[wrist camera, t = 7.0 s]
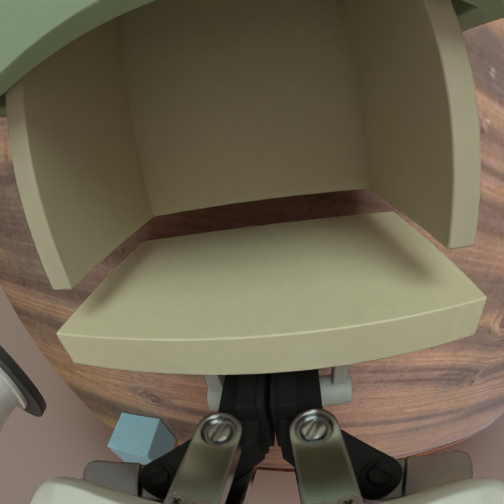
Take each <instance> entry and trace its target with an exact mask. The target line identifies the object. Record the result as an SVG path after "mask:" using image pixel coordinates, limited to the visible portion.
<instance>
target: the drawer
mask: <svg viewBox="0 0 504 504" xmlns="http://www.w3.org/2000/svg"><path fill="white" fill-rule="evenodd" d="M5 98H6V114H7V125H8V134H9V142H10V149H11V155H12V161H13V166H14V171H15V176H16V180H17V185H18V189H19V193H20V197H21V201H22V205H23V208H24V212H25V215H26V219H27V222H28V225H29V228H30V231H31V234H32V237H33V240H34V243H35V246H36V248H37V251H38V254H39V256H40V259H41V262H42V264H43V266H44V269H45V271H46V274H47V276H48V278H49V281H50V283H51V285H52V287H53V289H54V290H63V289H72V288H73V287H74V286H75V285H76V284H78V283H79V282H80V281H81V280H82V279H83V278H84V277H85V276H86V275H87V274H88V273H89V272H90V271H91V270H92V269H93V268H95V267H96V266H97V265H98V264H99V263H100V262H101V261H102V260H103V259H104V258H106V257H107V256H108V255H109V254H110V253H111V252H112V251H113V250H115V249H116V248H117V247H118V246H119V245H120V244H122V243H123V242H124V241H125V240H126V239H127V238H129V237H130V236H131V235H132V234H133V233H134V232H136V231H137V230H138V229H139V228H141V227H142V226H143V225H144V224H145V223H147V222H148V221H149V220H150V219H152V218H153V217H156V216H161V215H167V214H172V213H178V212H184V211H190V210H196V209H202V208H209V207H215V206H222V205H228V204H235V203H242V202H250V201H257V200H265V199H273V198H281V197H289V196H298V195H307V194H317V193H327V192H337V191H348V190H360V189H370V190H372V191H373V192H375V193H376V194H378V195H379V196H380V197H382V198H383V199H385V200H386V201H388V202H389V203H390V204H392V205H393V206H394V207H396V208H397V209H398V210H400V211H401V212H403V213H404V214H405V215H406V216H408V217H409V218H410V219H412V220H413V221H414V222H416V223H417V224H418V225H419V226H421V227H422V228H423V229H424V230H426V231H427V232H428V233H429V234H431V235H432V236H433V237H434V238H435V239H437V240H438V241H439V242H440V243H441V244H443V245H444V246H445V247H446V248H447V249H457V248H463V247H470V246H473V245H474V244H475V237H476V230H477V221H478V212H479V199H480V179H481V150H480V130H479V118H478V109H477V101H476V94H475V87H474V81H473V76H472V71H471V66H470V62H469V57H468V53H467V49H466V45H465V42H464V38H463V35H462V31H461V28H460V25H459V22H458V19H457V16H456V13H455V10H454V8H453V5H452V2H451V0H156V1H153V2H150V3H148V4H145V5H143V6H140V7H138V8H135V9H133V10H131V11H128V12H126V13H124V14H122V15H120V16H118V17H115V18H113V19H111V20H109V21H107V22H105V23H103V24H101V25H99V26H98V27H96V28H94V29H92V30H90V31H88V32H87V33H85V34H83V35H81V36H80V37H78V38H76V39H75V40H73V41H72V42H70V43H68V44H67V45H65V46H64V47H62V48H61V49H59V50H58V51H56V52H55V53H53V54H52V55H50V56H49V57H48V58H46V59H45V60H43V61H42V62H41V63H39V64H38V65H37V66H35V67H34V68H33V69H32V70H30V71H29V72H28V73H27V74H25V75H24V76H23V77H22V78H20V79H19V80H18V81H17V82H16V83H15V84H13V85H12V86H11V87H10V88H9V89H8V90H7V91H6V92H5ZM485 302H486V296H485V295H484V294H483V293H482V292H481V291H480V290H479V289H478V288H477V286H476V285H475V284H474V283H473V282H472V281H471V280H470V279H469V278H468V277H467V276H466V275H465V274H464V273H463V272H462V271H461V270H460V269H459V268H458V267H457V266H456V265H455V264H453V263H452V262H451V261H450V260H449V259H448V258H447V257H446V256H445V255H444V254H443V253H442V252H441V251H440V250H438V249H437V248H436V247H435V246H434V245H433V244H432V243H431V242H429V241H428V240H427V239H426V238H425V237H424V236H423V235H421V234H420V233H419V232H418V231H417V230H415V229H414V228H413V227H412V226H411V225H409V224H408V223H407V222H406V221H405V220H403V219H402V218H401V217H400V216H398V215H397V214H396V213H395V212H393V211H391V212H380V213H370V214H359V215H349V216H339V217H330V218H320V219H311V220H302V221H293V222H285V223H276V224H268V225H259V226H251V227H243V228H236V229H228V230H220V231H213V232H206V233H198V234H191V235H184V236H177V237H170V238H163V239H156V240H150V241H143V242H142V243H141V244H140V245H139V246H138V247H137V248H136V249H135V250H134V251H133V252H132V253H131V254H130V255H128V256H127V257H126V258H125V259H124V260H123V261H122V262H121V263H120V264H119V265H118V266H117V267H116V268H115V269H114V271H113V272H112V273H111V274H110V275H109V276H108V277H107V278H106V279H105V280H104V281H103V282H102V283H101V284H100V285H99V286H98V287H97V288H96V289H95V290H94V291H93V292H92V294H91V295H90V296H89V297H88V298H87V299H86V300H85V301H84V302H83V303H82V304H81V306H80V307H79V308H78V309H77V310H76V311H75V312H74V313H73V315H72V316H71V317H70V318H69V319H68V320H67V321H66V323H65V324H64V325H63V326H62V327H61V328H60V330H59V331H58V332H57V336H58V338H59V339H60V341H61V343H62V344H63V346H64V347H65V349H66V351H67V352H68V354H69V355H70V357H71V358H72V360H73V361H74V362H75V363H78V364H84V365H90V366H97V367H104V368H112V369H120V370H129V371H140V372H152V373H167V374H192V375H204V377H205V380H206V382H207V384H208V390H207V402H208V406H209V409H210V410H211V411H218V410H219V405H220V400H221V395H222V389H223V384H224V379H225V378H224V375H239V374H263V373H279V372H292V371H302V370H312V369H321V368H329V367H332V373H331V374H330V375H322V376H319V380H320V389H321V398H322V407H324V406H332V405H339V404H346V403H350V402H351V401H352V381H351V377H350V374H349V365H350V364H356V363H362V362H367V361H373V360H378V359H383V358H388V357H393V356H398V355H402V354H407V353H411V352H415V351H419V350H423V349H427V348H431V347H435V346H438V345H442V344H445V343H449V342H452V341H455V340H459V339H462V338H465V337H468V336H471V335H474V334H475V331H476V328H477V326H478V323H479V320H480V317H481V314H482V311H483V308H484V305H485Z"/></svg>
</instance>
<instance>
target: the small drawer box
mask: <svg viewBox="0 0 504 504" xmlns="http://www.w3.org/2000/svg"><path fill="white" fill-rule="evenodd" d="M153 1H156V0H0V118H2V117H7V114H6V98H5V92H6V91H7V90H8V89H9V88H10V87H11V86H12V85H13V84H15V83H16V82H17V81H18V80H19V79H20V78H22V77H23V76H24V75H25V74H27V73H28V72H29V71H30V70H32V69H33V68H34V67H35V66H37V65H38V64H39V63H41V62H42V61H43V60H45V59H46V58H48V57H49V56H50V55H52V54H53V53H55V52H56V51H58V50H59V49H61V48H62V47H64V46H65V45H67V44H68V43H70V42H72V41H73V40H75V39H76V38H78V37H80V36H81V35H83V34H85V33H87V32H88V31H90V30H92V29H94V28H96V27H98V26H99V25H101V24H103V23H105V22H107V21H109V20H111V19H113V18H115V17H118V16H120V15H122V14H124V13H126V12H128V11H131V10H133V9H135V8H138V7H140V6H143V5H145V4H148V3H150V2H153ZM451 2H452V5H453V8H454V10H455V13H456V16H457V19H458V22H459V25H460V28H461V31H465V30H467V29H470V28H473V27H476V26H479V25H482V24H485V23H488V22H491V21H494V20H498V19H500V18H504V0H451Z"/></svg>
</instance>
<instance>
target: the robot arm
mask: <svg viewBox="0 0 504 504" xmlns="http://www.w3.org/2000/svg"><path fill="white" fill-rule="evenodd" d="M27 405H28V402H27V400H26V398H25V396H24V394H23V393H22V392H21V390H20V389H19V388H18V386H17V385H16V384H15V383H14V381H13V380H12V379H11V378H10V377H9V376H8V374H7V373H6V372H5V371H4V370H3V369H2V368H1V367H0V430H1V429H2V427H3V425H4V424H5V422H6V420H7V419H8V417H9V416H10V414H11V412H12V411H13V409H14V408H15V406H18V407H20V408H22V409H25V408H26V407H27ZM275 433H276V438H277V442H278V446H281V450H282V455H283V458H284V459H285V460H286V461H287V462H289V463H290V464H291V465H293V466H294V469H295V474H296V480H297V485H298V491H299V496H300V502H301V504H504V484H503V483H502V482H501V481H500V480H498V479H495V478H491V477H477V478H473V472H472V461H471V457H470V456H469V454H468V453H467V452H464V451H462V450H455V451H450V452H443V453H437V454H429V455H421V456H410V457H407V458H406V459H394V458H393V457H391V456H389V455H387V454H385V453H383V452H381V451H379V450H377V449H375V448H373V447H371V446H369V445H368V444H366V443H364V442H362V441H360V440H359V439H357V438H355V437H353V436H352V435H350V434H348V433H346V432H345V431H343V430H341V429H340V427H339V424H338V421H337V419H336V417H335V416H334V415H333V414H332V413H330V412H329V411H326V410H324V409H323V407H322V398H321V389H320V380H319V372H318V369H312V370H302V371H292V372H279V373H263V374H239V375H225V379H224V384H223V389H222V395H221V400H220V405H219V410H218V412H217V413H213V414H210V415H208V416H206V417H204V418H203V419H202V420H201V421H200V422H199V424H198V426H197V428H196V430H195V432H194V434H193V437H192V439H190V440H188V441H187V442H185V443H183V444H182V445H180V446H178V447H177V448H175V449H173V450H171V451H170V452H168V453H166V454H164V455H163V456H161V457H159V458H157V459H155V460H153V461H152V462H150V463H148V464H147V465H142V464H140V463H133V462H113V461H112V462H111V461H100V460H96V461H92V462H90V463H88V465H87V466H86V467H85V470H84V473H83V480H82V479H77V478H69V477H58V478H52V479H49V480H47V481H45V482H44V483H43V484H42V485H41V486H40V487H39V488H38V490H37V492H36V493H35V495H34V497H33V499H32V501H31V503H30V504H247V501H248V498H249V495H250V491H251V488H252V484H253V481H254V477H255V474H256V470H257V464H259V463H260V462H261V461H263V460H264V459H265V453H269V446H274V441H275Z"/></svg>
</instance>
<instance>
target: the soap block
mask: <svg viewBox="0 0 504 504" xmlns="http://www.w3.org/2000/svg"><path fill="white" fill-rule="evenodd" d="M175 442H176V439H175V438H174V436H173V435H172V434H171V433H170V431H169V430H168V429H167V428H166V426H165V425H164V424H163V422H162V421H161V420H160V419H158V418H151V417H144V416H138V415H133V414H127V413H122V414H121V416H120V418H119V421H118V423H117V425H116V427H115V430H114V432H113V435H112V437H111V439H110V441H109V444H108V447H109V448H110V449H111V450H112V451H113V452H114V453H116V454H117V455H118V456H119V457H120V458H121V459H122V460H124V461H125V462H133V463H140V464H142V465H147V464H148V463H150V462H152V461H153V460H155V459H157V458H159V457H161V456H163V455H164V454H166V453H168V452H170V451H171V450H173V449H174V446H175Z"/></svg>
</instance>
